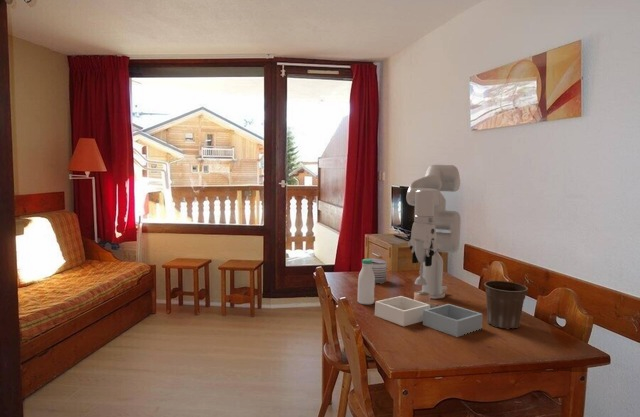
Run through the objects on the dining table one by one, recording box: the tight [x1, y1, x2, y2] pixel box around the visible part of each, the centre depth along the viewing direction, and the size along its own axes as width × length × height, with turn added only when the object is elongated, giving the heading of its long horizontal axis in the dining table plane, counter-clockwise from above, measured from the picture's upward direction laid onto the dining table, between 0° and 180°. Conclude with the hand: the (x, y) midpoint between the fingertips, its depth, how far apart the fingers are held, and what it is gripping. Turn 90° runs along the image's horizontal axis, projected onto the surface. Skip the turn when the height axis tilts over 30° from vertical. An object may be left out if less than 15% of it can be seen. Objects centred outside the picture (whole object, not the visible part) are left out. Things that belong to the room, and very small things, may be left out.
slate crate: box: [422, 303, 484, 338], centre depth 178 cm, size 16×16×6 cm
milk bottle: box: [357, 258, 376, 305], centre depth 208 cm, size 8×8×20 cm
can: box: [370, 258, 387, 284], centre depth 249 cm, size 11×11×12 cm
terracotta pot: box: [413, 291, 431, 303], centre depth 200 cm, size 7×7×7 cm
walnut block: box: [426, 301, 439, 308], centre depth 192 cm, size 5×5×5 cm
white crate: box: [374, 295, 430, 327], centre depth 188 cm, size 16×16×6 cm
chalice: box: [414, 240, 430, 286], centre depth 183 cm, size 7×7×18 cm
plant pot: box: [483, 280, 529, 329], centre depth 182 cm, size 16×16×16 cm
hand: (421, 263), depth 183 cm, fingers closed on chalice, 6 cm apart
